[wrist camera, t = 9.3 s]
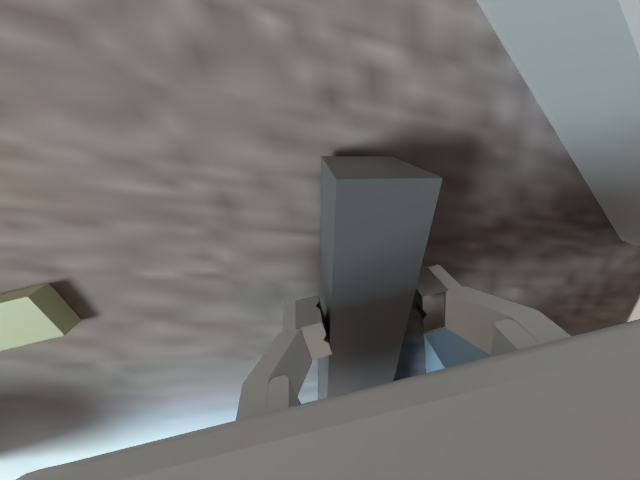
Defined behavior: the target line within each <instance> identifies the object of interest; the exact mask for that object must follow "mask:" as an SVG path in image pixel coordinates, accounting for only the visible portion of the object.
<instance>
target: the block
mask: <svg viewBox="0 0 640 480" xmlns="http://www.w3.org/2000/svg"><path fill="white" fill-rule="evenodd" d="M424 346H425V361H426V373H428V372H432V371H436V370H440V369H444V368H448V367H452V366H456V365H460V364H464V363H468V362H472V361H476V360H480V359H484V358H487V357H490V355H489V354H488V353H486V352H484V351H483V350H481V349H480V348H478V347H476V346H475V345H473V344H471V343H470V342H468V341H466V340H465V339H463V338H461V337H460V336H458V335H456V334H455V333H453V332H451V331H450V330H448V329H447V328H445V329H441V330H437V331H433V332H429V333H425V334H424Z"/></svg>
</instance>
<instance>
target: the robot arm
mask: <svg viewBox="0 0 640 480" xmlns="http://www.w3.org/2000/svg"><path fill="white" fill-rule="evenodd" d="M411 311H412V312H414V313H416V320H417V321H418V323H419V324H420V326H421V327H422V329H423V331H427V330H431V329H436V328H440V327H445V328H447V329H448V330H450V331H451V332H453V333H455V334H456V335H458V336H460V337H461V338H463V339H465V340H466V341H468V342H470V343H471V344H473V345H475V346H476V347H478V348H480V349H481V350H483V351H484V352H486V353H488V354H489V355H490V357H487V358H484V359H480V360H476V361H472V362H468V363H464V364H460V365H456V366H452V367H448V368H444V369H440V370H436V371H432V372H428V373H424V374H420V375H416V376H412V377H408V378H404V379H400V380H396V381H392V382H388V383H384V384H380V385H376V386H372V387H368V388H364V389H360V390H356V391H352V392H348V393H344V394H340V395H336V396H332V397H328V398H324V399H320V400H316V401H312V402H308V403H304V404H301V403H300V401H299V399H298V397H297V396H298V393H299V391H300V389H301V386H302V384H303V382H304V379H305V377H306V375H307V372H308V370H309V368H310V365H311V363H312V360H314V359H317V358H321V357H324V356H328V355H331V354H332V351H331V347H330V343H329V337H328V333H327V325H326V319H325V315H324V311H323V310H322V306H321V301H320V298H319V296H313V297H309V298H305V299H300V300H296V301H292V302H288V303H285V304H284V308H283V333H280V334H279V335H278V336H277V337H276V339H275V340H274V341H273V343H272V344H271V346H270V347H269V348H268V350H267V351H266V353H265V354H264V355H263V357H262V358H261V360H260V361H259V362H258V364H257V365H256V366H255V368H254V369H253V371H252V372H251V373H250V375H249V376H248V378H247V379H246V380H245V382H244V383H243V385H242V390H241V396H240V401H239V406H238V412H237V417H236V421H233V422H229V423H225V424H221V425H217V426H213V427H209V428H205V429H201V430H197V431H193V432H189V433H185V434H181V435H177V436H173V437H169V438H165V439H161V440H157V441H153V442H149V443H145V444H141V445H137V446H133V447H129V448H125V449H121V450H117V451H114V452H110V453H106V454H102V455H98V456H94V457H90V458H86V459H82V460H78V461H74V462H70V463H66V464H62V465H57V466H53V467H48V468H44V469H40V470H37V471H33V472H30V473H27V474H25V475H23V476H21V477H19V478H18V479H16V480H640V319H639V320H635V321H631V322H627V323H623V324H619V325H615V326H611V327H607V328H603V329H599V330H595V331H591V332H587V333H583V334H579V335H575V336H571V335H569V334H568V333H567V332H565V331H564V330H563V329H562V328H560V327H559V326H558V325H556V324H555V323H554V322H553V321H551V320H550V319H549V318H547V317H546V316H545V315H544V314H542V313H541V312H540V311H538V310H536V309H533V308H530V307H527V306H524V305H521V304H518V303H515V302H512V301H509V300H506V299H503V298H500V297H497V296H494V295H491V294H488V293H485V292H482V291H479V290H476V289H473V288H470V287H467V286H466V287H462V286H461V285H460V284H459V283H458V282H457V281H456V280H455V279H454V278H453V277H452V276H451V275H450V274H449V273H448V272H447V271H446V270H444V269H443V268H442V267H441V266H440V265H438V264H437V265H434V266H430V267H427V268H424V269H421V270H420V274H419V278H418V282H417V286H416V290H415V294H414V299H413V303H412V307H411Z"/></svg>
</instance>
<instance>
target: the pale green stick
mask: <svg viewBox="0 0 640 480" xmlns="http://www.w3.org/2000/svg"><path fill="white" fill-rule="evenodd" d="M80 321H81V319H80V318H79V317H78V315H77V314H76V313H75V312H74V311H73V310H72V309H71V308H70V307H69V305H68V304H67V303H66V302H65V301H64V300H63V299H62V298H61V296H60V295H59V294H58V293H57V292H56V291H55V290H54V289H53V287H52V286H51V285H50V284H49V283H46V284H42V285H38V286H33V287H29V288H25V289H21V290H17V291H12V292H8V293H4V294H0V351H1V350H5V349H9V348H14V347H18V346H22V345H26V344H30V343H35V342H39V341H43V340H47V339H51V338H56V337H60V336H64V335H66V334H67V333H68V332H69V331H70V330H71V329H72V328H73V327H74V326H75V325H76V324H78V323H79V322H80Z"/></svg>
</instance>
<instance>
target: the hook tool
mask: <svg viewBox="0 0 640 480" xmlns="http://www.w3.org/2000/svg"><path fill="white" fill-rule="evenodd" d="M442 179H443V178H442V177H439V176H437V175H435V174H432V173H430V172H428V171H425V170H423V169H421V168H418V167H416V166H414V165H411V164H409V163H407V162H404V161H402V160H399V159H397V158H395V157H392V156H321V218H320V292H319V298H320V301H321V306H322V310H323V311H324V315H325V319H326V325H327V333H328V337H329V343H330V347H331V351H332V354H331V355H328V356H324V357H321V358H319V366H318V400H320V399H324V398H328V397H332V396H336V395H340V394H344V393H348V392H352V391H356V390H360V389H364V388H368V387H372V386H376V385H380V384H384V383H388V382H392V381H394V377H395V373H396V368H397V364H398V360H399V356H400V352H401V348H402V344H403V340H404V336H405V331H406V327H407V323H408V319H409V315H410V311H411V307H412V303H413V299H414V294H415V290H416V286H417V282H418V278H419V274H420V270H421V266H422V262H423V257H424V253H425V249H426V245H427V241H428V237H429V233H430V229H431V225H432V220H433V216H434V212H435V208H436V204H437V200H438V196H439V192H440V188H441V183H442Z"/></svg>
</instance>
